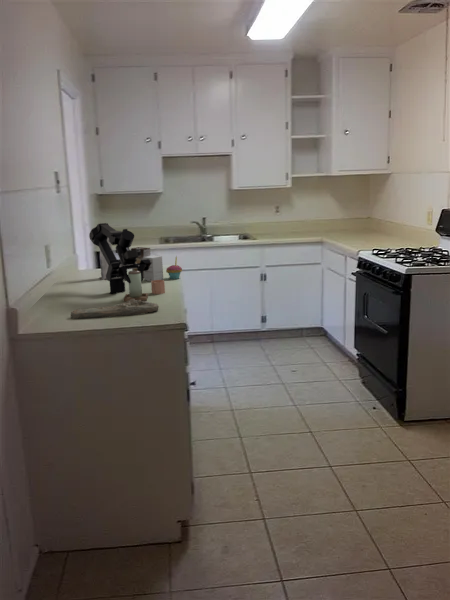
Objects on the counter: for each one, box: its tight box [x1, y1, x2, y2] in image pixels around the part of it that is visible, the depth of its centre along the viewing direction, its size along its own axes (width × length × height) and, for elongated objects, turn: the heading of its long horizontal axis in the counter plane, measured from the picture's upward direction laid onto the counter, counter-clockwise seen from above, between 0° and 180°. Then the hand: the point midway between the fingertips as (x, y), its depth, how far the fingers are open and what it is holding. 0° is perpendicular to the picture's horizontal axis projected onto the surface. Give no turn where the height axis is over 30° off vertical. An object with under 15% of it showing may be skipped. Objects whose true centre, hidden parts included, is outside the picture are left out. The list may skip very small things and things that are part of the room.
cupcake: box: [166, 255, 183, 280], centre depth 305 cm, size 9×8×12 cm
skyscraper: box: [98, 238, 113, 281], centre depth 311 cm, size 8×8×28 cm
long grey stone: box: [70, 299, 160, 320], centre depth 230 cm, size 35×5×10 cm
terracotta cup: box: [150, 279, 166, 295], centre depth 267 cm, size 6×6×6 cm
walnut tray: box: [123, 292, 149, 303], centre depth 255 cm, size 10×10×2 cm
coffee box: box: [130, 246, 151, 279], centre depth 313 cm, size 9×6×16 cm
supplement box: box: [143, 254, 164, 282], centre depth 303 cm, size 7×7×13 cm
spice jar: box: [127, 270, 143, 298], centre depth 254 cm, size 6×6×11 cm
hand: (136, 281), depth 253 cm, fingers closed on spice jar, 5 cm apart
